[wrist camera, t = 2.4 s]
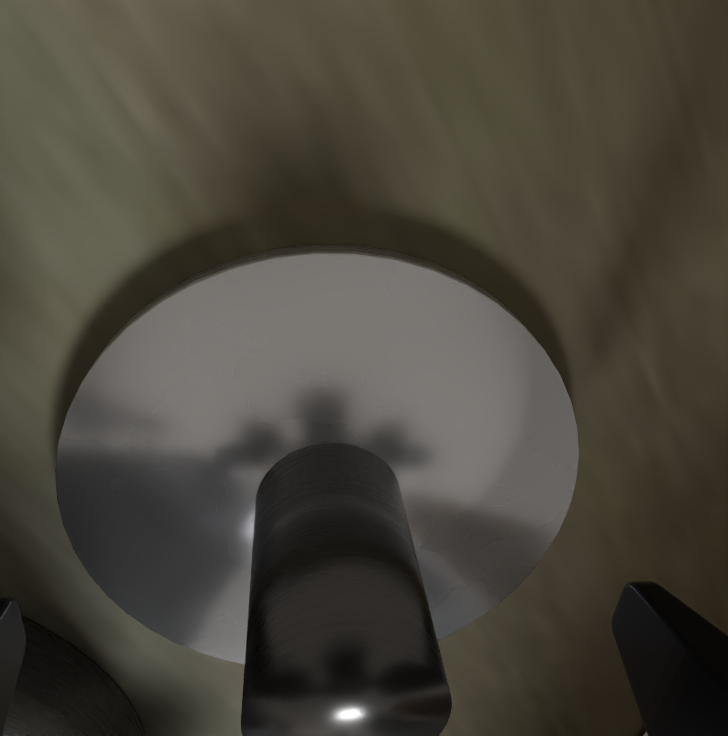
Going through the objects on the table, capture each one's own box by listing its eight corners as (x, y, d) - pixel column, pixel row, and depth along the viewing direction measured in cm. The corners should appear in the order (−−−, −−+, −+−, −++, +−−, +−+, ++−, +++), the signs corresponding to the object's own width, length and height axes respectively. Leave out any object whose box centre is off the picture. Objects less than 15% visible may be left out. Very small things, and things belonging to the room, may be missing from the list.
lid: (623, 260, 10) (850, 418, 6) (504, 634, 15) (591, 875, 10) (37, 216, 9) (-179, 378, 5) (94, 641, 13) (6, 923, 9)
